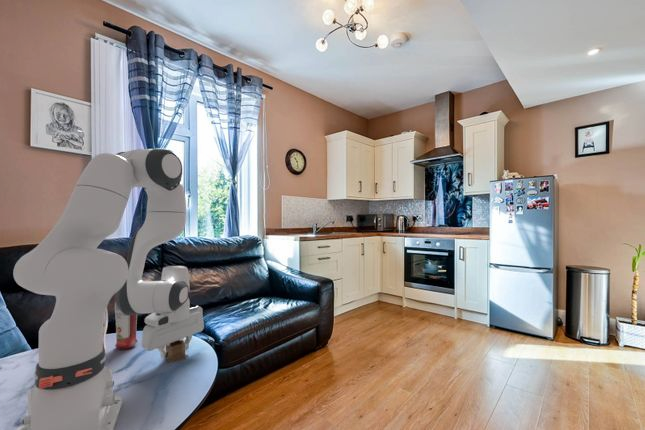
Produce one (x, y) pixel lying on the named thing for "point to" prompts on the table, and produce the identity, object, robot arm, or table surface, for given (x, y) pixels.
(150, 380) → the table surface
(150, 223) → the robot arm
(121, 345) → the liquor
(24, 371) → the table surface
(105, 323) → the beer glass
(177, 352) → the collar
